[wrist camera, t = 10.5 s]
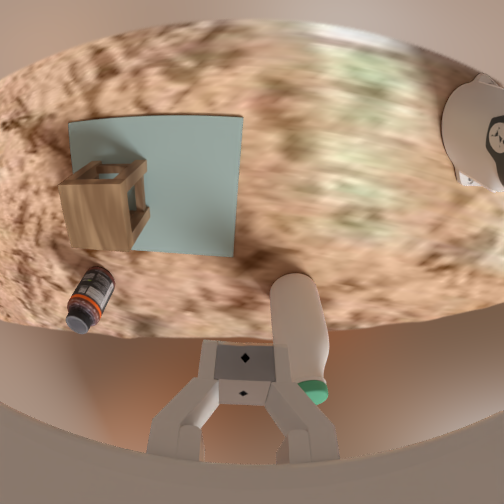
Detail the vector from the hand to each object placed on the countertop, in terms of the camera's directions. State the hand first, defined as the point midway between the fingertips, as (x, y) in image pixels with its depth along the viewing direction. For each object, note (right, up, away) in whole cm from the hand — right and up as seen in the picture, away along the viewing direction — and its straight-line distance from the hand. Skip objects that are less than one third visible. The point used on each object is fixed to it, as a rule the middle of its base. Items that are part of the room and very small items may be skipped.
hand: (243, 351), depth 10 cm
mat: (-14, +12, +27) cm, 32 cm away
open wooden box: (-14, +10, +23) cm, 28 cm away
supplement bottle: (-26, -1, +36) cm, 44 cm away
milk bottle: (+7, -2, +37) cm, 38 cm away
